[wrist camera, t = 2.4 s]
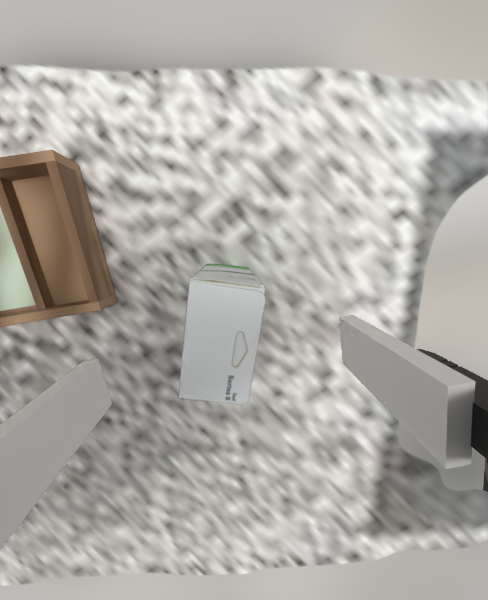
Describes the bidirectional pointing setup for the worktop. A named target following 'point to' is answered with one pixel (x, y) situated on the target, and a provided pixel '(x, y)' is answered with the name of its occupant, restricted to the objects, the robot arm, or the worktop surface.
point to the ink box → (221, 334)
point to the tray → (48, 241)
